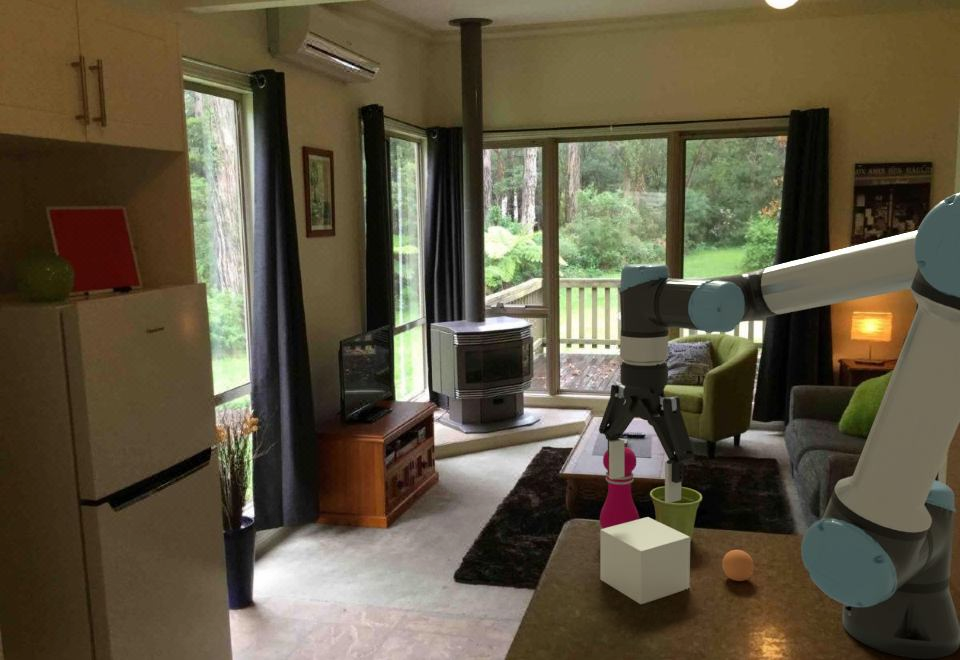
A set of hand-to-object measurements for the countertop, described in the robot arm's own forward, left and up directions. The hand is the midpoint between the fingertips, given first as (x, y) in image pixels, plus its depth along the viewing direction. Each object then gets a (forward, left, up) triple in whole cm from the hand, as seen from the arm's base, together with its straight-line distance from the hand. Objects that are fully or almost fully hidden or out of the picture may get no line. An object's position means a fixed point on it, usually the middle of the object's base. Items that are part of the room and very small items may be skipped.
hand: (643, 488), depth 133 cm
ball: (-8, -13, -13) cm, 21 cm away
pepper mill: (+14, -6, -16) cm, 22 cm away
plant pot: (+10, -16, -16) cm, 25 cm away
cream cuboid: (-1, +1, -16) cm, 16 cm away
